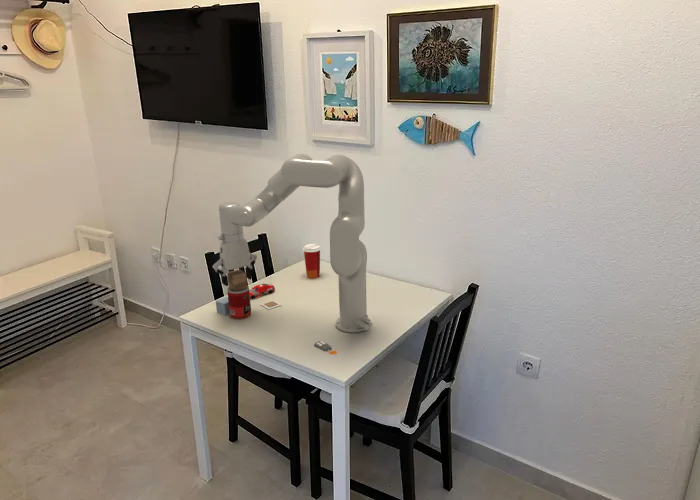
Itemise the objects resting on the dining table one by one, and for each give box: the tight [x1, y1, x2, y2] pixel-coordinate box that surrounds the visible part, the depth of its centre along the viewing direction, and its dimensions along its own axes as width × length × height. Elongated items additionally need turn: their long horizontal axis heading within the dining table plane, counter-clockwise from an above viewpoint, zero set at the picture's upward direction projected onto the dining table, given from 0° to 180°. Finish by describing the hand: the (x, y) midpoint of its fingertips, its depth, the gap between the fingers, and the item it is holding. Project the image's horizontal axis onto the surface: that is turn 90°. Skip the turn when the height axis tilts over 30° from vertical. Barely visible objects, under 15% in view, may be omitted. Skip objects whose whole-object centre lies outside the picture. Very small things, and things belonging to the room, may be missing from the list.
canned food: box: [226, 285, 252, 320], centre depth 199 cm, size 8×8×11 cm
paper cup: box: [302, 243, 322, 280], centre depth 233 cm, size 8×8×14 cm
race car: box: [249, 283, 276, 301], centre depth 218 cm, size 13×5×4 cm, turn 127°
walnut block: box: [226, 268, 248, 292], centre depth 196 cm, size 5×5×6 cm
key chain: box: [313, 340, 338, 357], centre depth 174 cm, size 13×4×2 cm, turn 43°
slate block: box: [215, 295, 230, 317], centre depth 203 cm, size 5×5×5 cm
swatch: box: [260, 299, 282, 310], centre depth 208 cm, size 6×6×1 cm
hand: (237, 281), depth 197 cm, fingers open, 9 cm apart
